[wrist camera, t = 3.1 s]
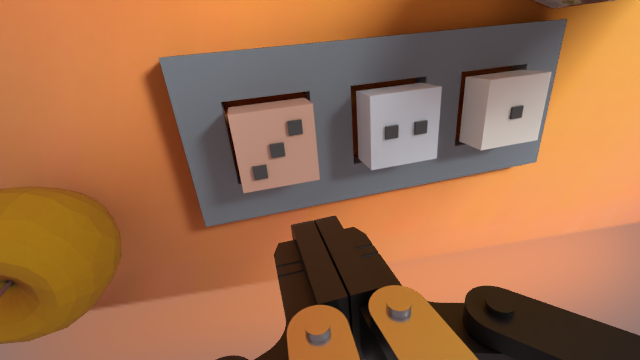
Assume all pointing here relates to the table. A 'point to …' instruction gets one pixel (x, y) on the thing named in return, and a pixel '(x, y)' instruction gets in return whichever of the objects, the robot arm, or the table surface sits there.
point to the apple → (52, 259)
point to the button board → (345, 109)
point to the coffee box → (567, 2)
